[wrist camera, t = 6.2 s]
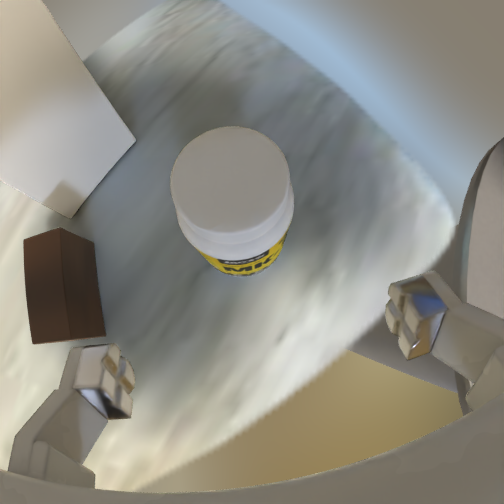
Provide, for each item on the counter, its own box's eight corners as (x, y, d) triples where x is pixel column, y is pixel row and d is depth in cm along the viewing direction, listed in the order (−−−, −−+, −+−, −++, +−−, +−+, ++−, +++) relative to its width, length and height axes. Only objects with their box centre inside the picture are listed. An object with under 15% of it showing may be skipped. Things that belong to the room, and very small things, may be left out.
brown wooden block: (59, 252, 18) (23, 239, 15) (94, 242, 18) (60, 226, 15) (69, 341, 17) (32, 344, 13) (106, 336, 17) (71, 339, 13)
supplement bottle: (229, 294, 18) (200, 278, 9) (187, 226, 18) (134, 163, 10) (300, 247, 18) (330, 194, 10) (255, 183, 19) (250, 96, 11)
